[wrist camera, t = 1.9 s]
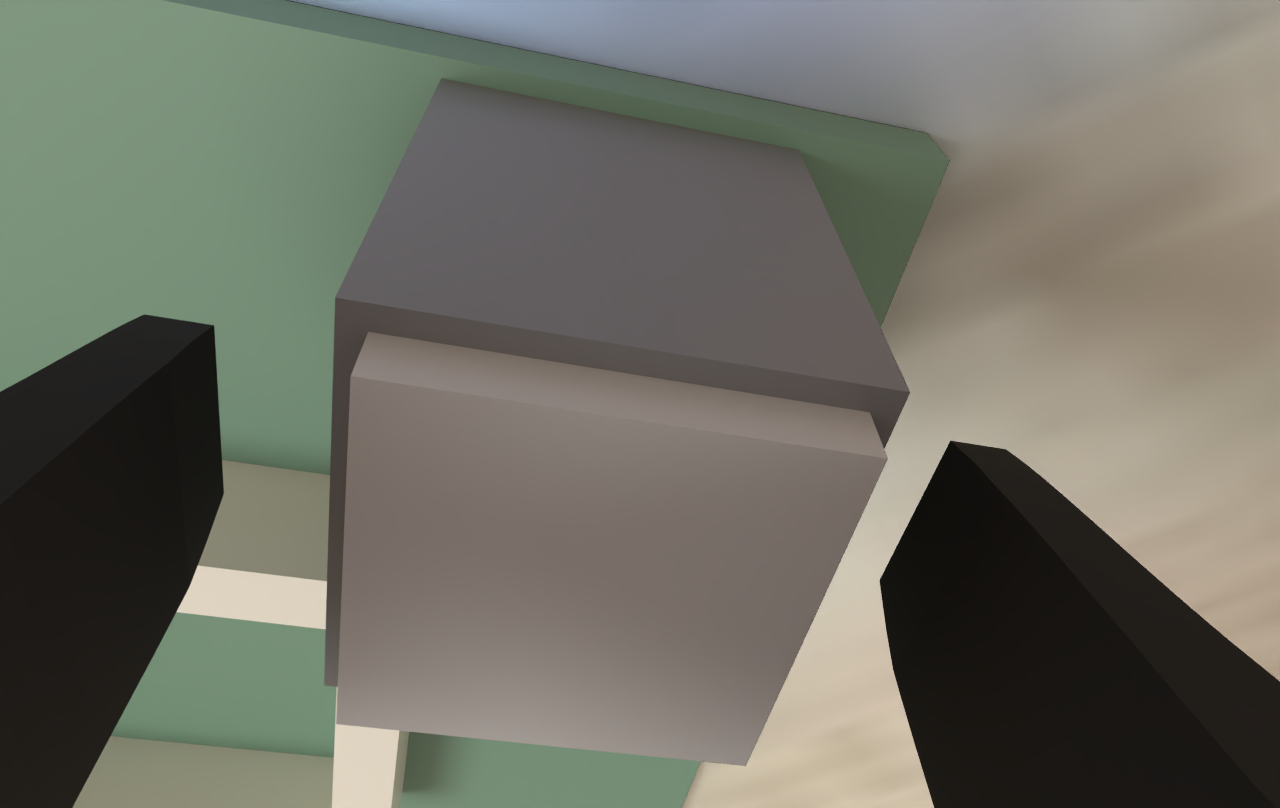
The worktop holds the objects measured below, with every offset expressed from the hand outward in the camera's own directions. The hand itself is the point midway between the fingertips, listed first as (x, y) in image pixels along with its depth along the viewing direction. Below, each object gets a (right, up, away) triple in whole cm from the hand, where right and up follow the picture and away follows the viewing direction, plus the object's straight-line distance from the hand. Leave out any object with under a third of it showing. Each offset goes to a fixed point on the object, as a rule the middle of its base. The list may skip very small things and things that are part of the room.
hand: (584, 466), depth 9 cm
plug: (0, +2, +4) cm, 4 cm away
